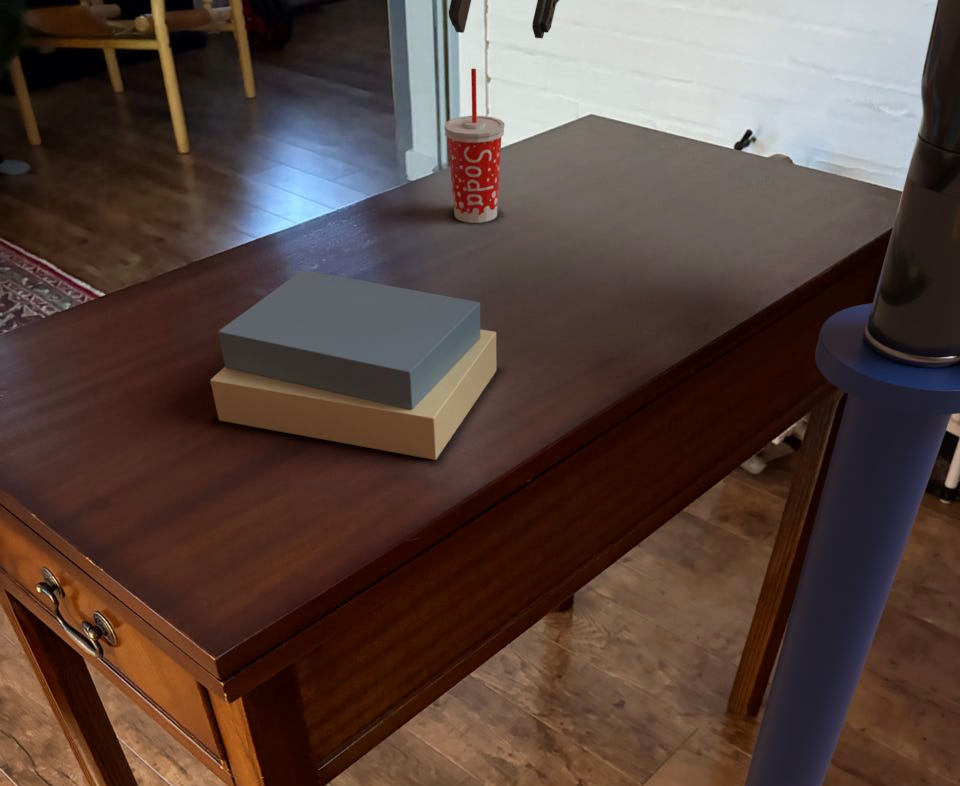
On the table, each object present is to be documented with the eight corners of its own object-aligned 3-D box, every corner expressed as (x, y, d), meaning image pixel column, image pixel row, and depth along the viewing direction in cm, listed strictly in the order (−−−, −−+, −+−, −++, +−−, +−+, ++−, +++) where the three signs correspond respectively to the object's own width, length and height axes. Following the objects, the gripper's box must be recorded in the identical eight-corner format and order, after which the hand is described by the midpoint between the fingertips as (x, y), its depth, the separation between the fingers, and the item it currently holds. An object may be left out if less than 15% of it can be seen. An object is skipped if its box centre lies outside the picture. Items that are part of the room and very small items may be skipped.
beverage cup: (440, 222, 107) (434, 75, 97) (456, 202, 111) (452, 59, 101) (496, 227, 105) (495, 79, 96) (510, 207, 110) (511, 62, 100)
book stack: (496, 371, 83) (496, 295, 78) (436, 460, 73) (432, 379, 69) (300, 340, 87) (289, 266, 83) (218, 420, 78) (201, 342, 73)
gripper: (457, -157, 100) (420, 1, 100) (596, -154, 97) (558, 10, 97) (475, -99, 107) (441, 49, 107) (605, -94, 104) (570, 58, 104)
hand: (497, 30), depth 102 cm, fingers open, 8 cm apart
